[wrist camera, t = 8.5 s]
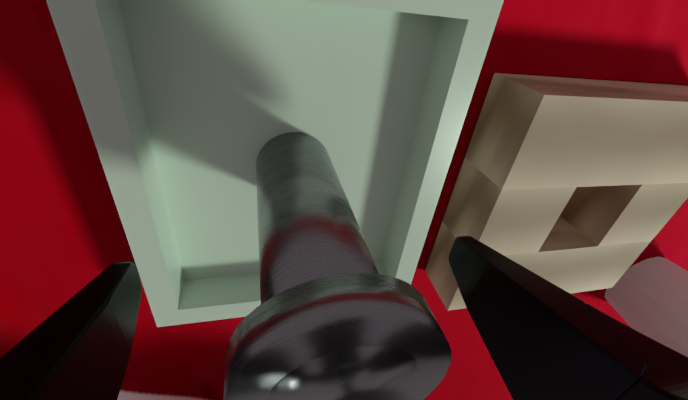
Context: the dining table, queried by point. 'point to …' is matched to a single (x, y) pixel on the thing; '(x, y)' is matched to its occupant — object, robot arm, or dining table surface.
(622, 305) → the cup
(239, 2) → the tray
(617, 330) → the robot arm
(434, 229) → the dining table surface
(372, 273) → the pin
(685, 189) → the hole block
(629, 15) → the dining table surface
